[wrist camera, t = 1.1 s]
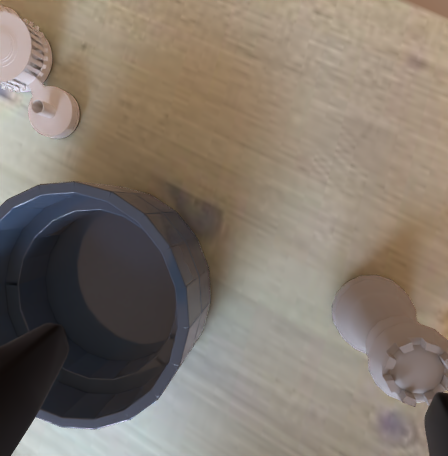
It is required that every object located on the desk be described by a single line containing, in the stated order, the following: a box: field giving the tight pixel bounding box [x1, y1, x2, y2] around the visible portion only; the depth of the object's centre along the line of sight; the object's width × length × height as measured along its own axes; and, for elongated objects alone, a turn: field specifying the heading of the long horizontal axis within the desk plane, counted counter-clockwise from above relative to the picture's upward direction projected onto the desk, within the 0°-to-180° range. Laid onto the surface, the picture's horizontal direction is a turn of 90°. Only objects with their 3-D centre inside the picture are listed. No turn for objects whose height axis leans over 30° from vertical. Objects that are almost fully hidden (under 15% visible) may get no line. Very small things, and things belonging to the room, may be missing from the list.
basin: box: [0, 181, 211, 429], centre depth 21 cm, size 13×13×6 cm
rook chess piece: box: [332, 275, 448, 407], centre depth 17 cm, size 4×4×8 cm
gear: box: [0, 5, 80, 139], centre depth 22 cm, size 9×9×2 cm
